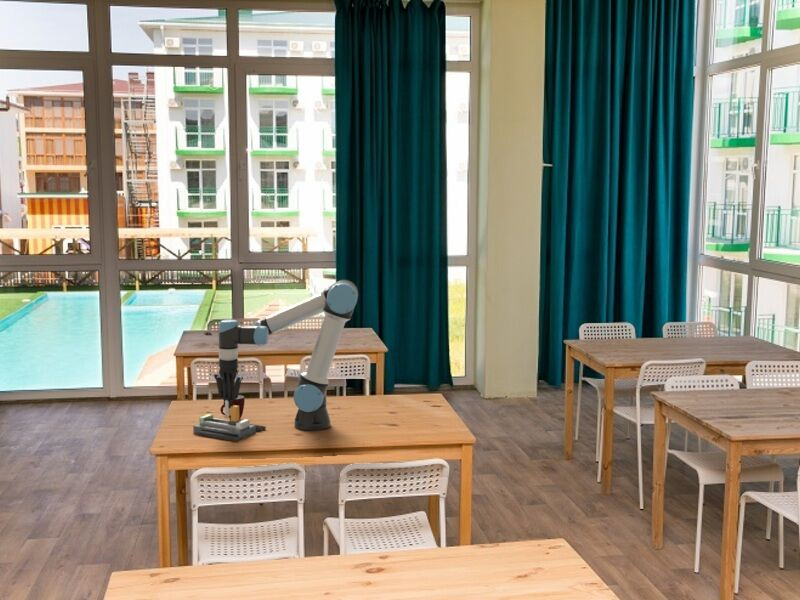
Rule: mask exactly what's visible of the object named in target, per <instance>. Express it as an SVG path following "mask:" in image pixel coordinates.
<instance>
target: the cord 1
mask: <svg viewBox="0 0 800 600" xmlns="http://www.w3.org/2000/svg"><path fill="white" fill-rule="evenodd" d="M197 435H199V436H202V437H208V438H214V439H219V440H225V441H232V442H238V441H239V440H238V437H235V436H229V435H223V434H217V433H211V432H206V431H198V434H197Z"/></svg>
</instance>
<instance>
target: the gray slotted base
mask: <svg viewBox="0 0 800 600" xmlns="http://www.w3.org/2000/svg"><path fill="white" fill-rule="evenodd" d="M229 421H230V419H221V418H216V417H215V418H214V414H212V413H209V414H205V415H202V416H200V417H199V423H198V424H194V425H193V426H192V427H193V434H196V433H197V434H196V435H198V431H206V432H211V433H217V434H223V435H229V436H235V437H238V441H241V440H242V439H245V438H247V437H249V435H250V436H252V435H254V434H256V433H257V431H256V426H254V425H255V424H252V425H250V424H251V423H250V419H247V418H245V419H243V420H242V421H240V422H237V423H236V425H230V424H229ZM251 434H252V435H251Z"/></svg>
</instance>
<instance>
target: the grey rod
mask: <svg viewBox="0 0 800 600" xmlns="http://www.w3.org/2000/svg"><path fill="white" fill-rule="evenodd" d="M262 431H263V430H262V428H261V427H257V426H256V432H262Z"/></svg>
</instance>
